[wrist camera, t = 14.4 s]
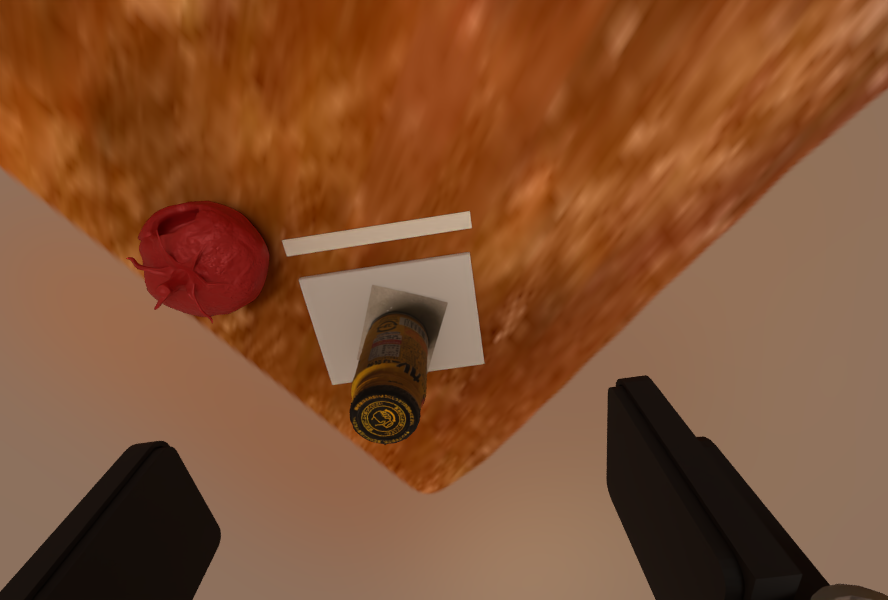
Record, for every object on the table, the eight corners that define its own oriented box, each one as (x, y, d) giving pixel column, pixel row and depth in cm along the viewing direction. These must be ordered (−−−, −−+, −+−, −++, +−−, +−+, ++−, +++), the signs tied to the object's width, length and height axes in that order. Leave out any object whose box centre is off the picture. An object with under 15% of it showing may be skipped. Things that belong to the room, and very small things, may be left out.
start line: (282, 240, 38) (281, 240, 38) (469, 211, 37) (469, 211, 37) (287, 255, 39) (287, 256, 39) (471, 227, 38) (471, 228, 38)
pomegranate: (302, 246, 39) (265, 287, 30) (239, 316, 41) (190, 371, 33) (207, 166, 35) (135, 187, 27) (146, 247, 38) (64, 288, 30)
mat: (300, 277, 40) (298, 279, 39) (469, 251, 39) (469, 254, 38) (333, 381, 45) (332, 384, 44) (483, 360, 44) (484, 363, 44)
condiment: (357, 358, 43) (330, 445, 32) (372, 283, 40) (348, 352, 29) (427, 372, 44) (424, 461, 33) (447, 300, 40) (452, 374, 30)
